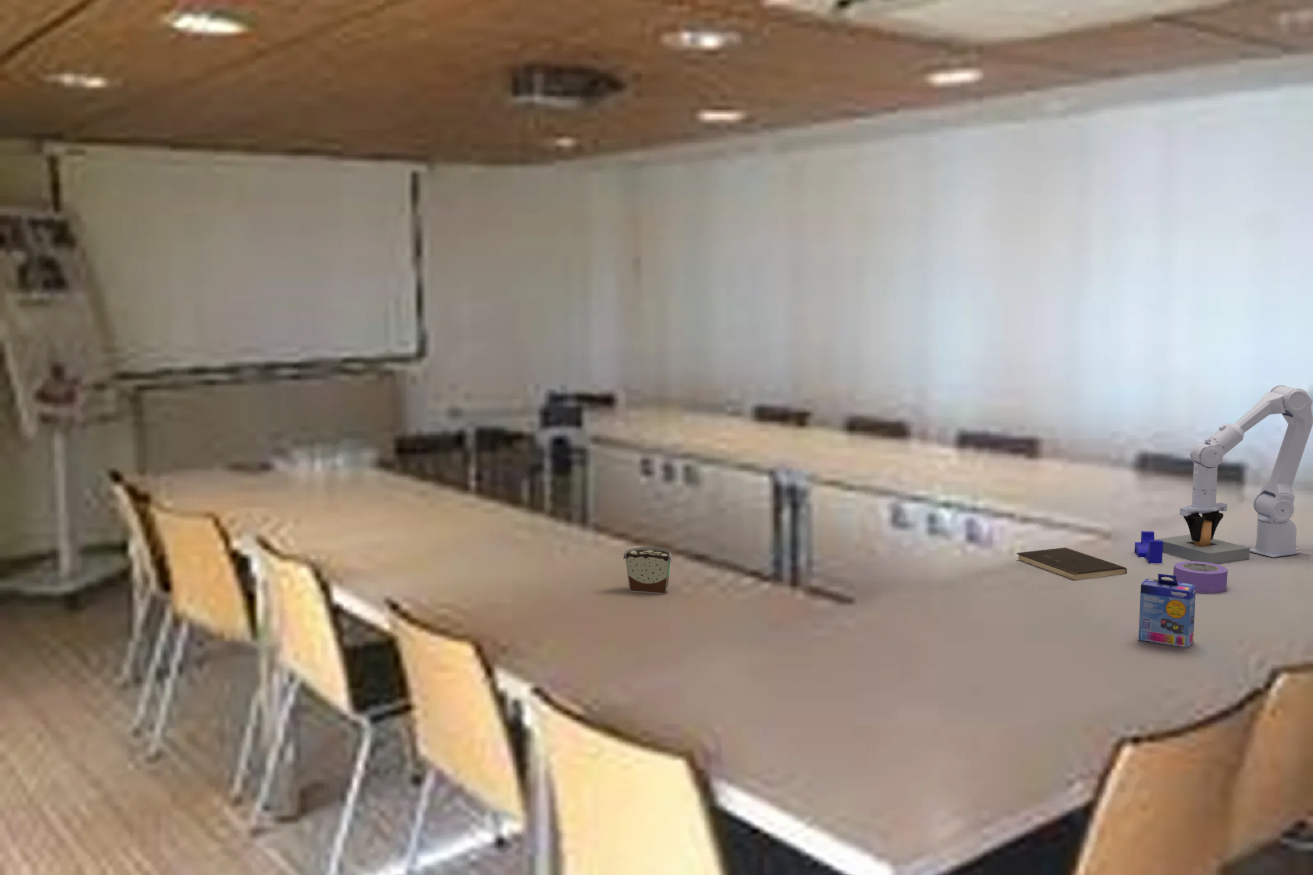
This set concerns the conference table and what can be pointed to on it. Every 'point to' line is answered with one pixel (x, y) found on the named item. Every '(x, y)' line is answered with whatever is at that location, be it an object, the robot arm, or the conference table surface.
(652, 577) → the food container
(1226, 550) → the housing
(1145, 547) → the cable clip
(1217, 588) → the tape roll
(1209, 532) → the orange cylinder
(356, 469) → the conference table surface
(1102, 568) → the hardcover book
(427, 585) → the conference table surface
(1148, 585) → the ink cartridge box
